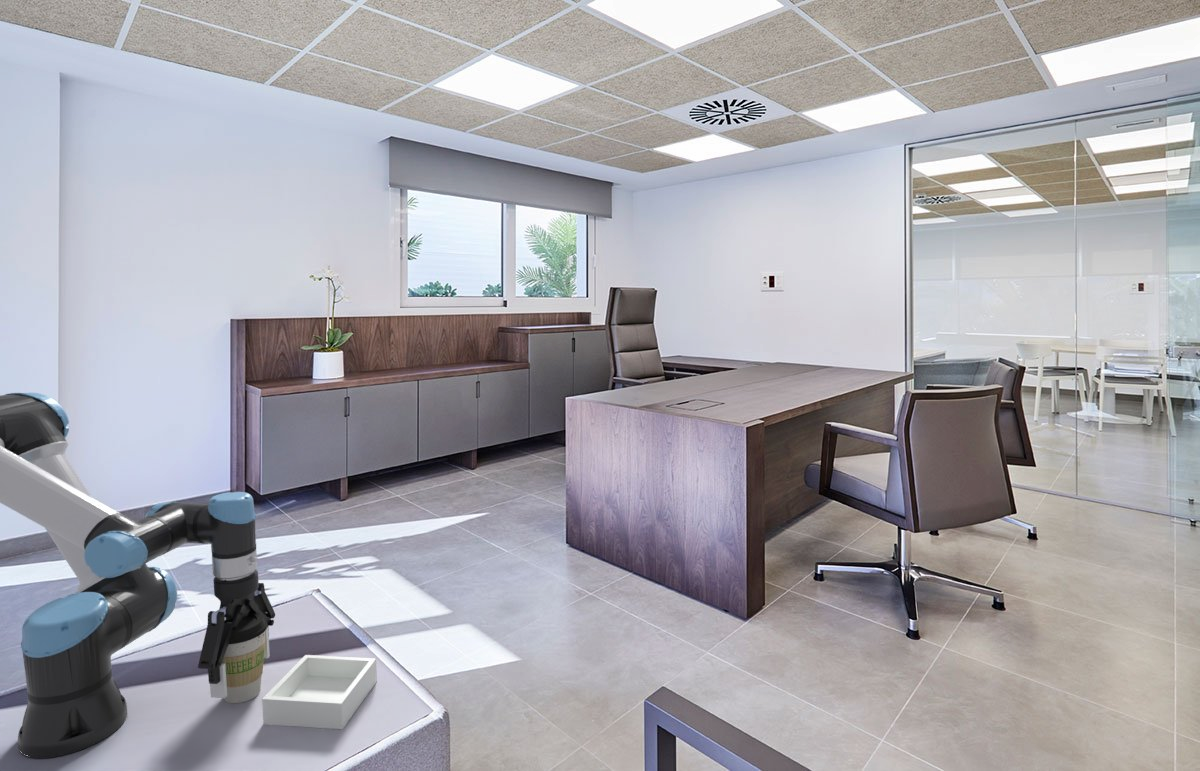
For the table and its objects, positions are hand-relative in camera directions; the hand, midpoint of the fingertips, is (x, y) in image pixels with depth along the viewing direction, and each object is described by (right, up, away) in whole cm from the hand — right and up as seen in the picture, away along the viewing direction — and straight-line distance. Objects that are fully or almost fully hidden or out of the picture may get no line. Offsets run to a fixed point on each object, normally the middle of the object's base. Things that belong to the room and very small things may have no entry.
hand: (241, 676), depth 126 cm
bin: (+17, -4, -2) cm, 17 cm away
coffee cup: (0, -4, +1) cm, 4 cm away
